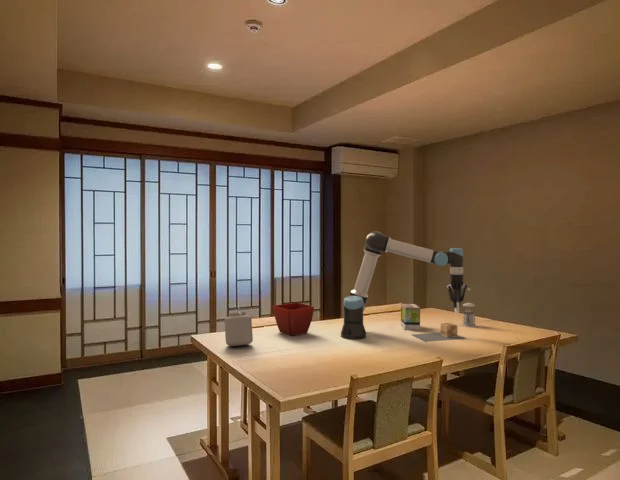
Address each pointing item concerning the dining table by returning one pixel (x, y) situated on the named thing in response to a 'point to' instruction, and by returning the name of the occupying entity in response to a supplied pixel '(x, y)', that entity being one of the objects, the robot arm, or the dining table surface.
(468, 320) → the french press
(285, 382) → the dining table surface
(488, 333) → the dining table surface
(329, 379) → the dining table surface
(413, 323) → the tea box
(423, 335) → the slate mat
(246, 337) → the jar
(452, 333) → the wooden block
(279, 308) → the plant pot
